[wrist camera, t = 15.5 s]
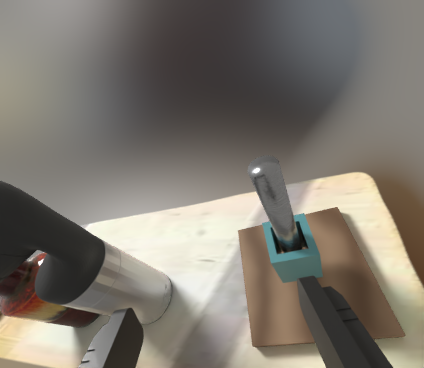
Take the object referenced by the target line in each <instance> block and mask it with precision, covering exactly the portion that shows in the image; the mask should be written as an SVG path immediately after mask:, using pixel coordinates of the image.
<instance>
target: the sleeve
mask: <svg viewBox="0 0 424 368" xmlns="http://www.w3.org/2000/svg"><path fill="white" fill-rule="evenodd" d="M294 219H295V223H296V227H297V231H298V234H299V238H300V242H301V245H302V248H303V247H305V248H306V249H303V250H298V251H293V252H288V253H282V252H283V250H282V248H281V246H280V243H279V241H278V239H277V237H276V234H275V232H274V230H273V228H272V225H271V223H270V221H269V222H265V223H262V225H263V229H264V234H265V238H266V243H267V248H268V252H269V257H270V261H271V264H272V266H273V268H274V269H275V271H276V272H277V274H278V276H279V277H280V279H281V281H282V282H283V283H287V282H293V281H297V278H302V277H307V276H315V277H316V278H320V277H323V274H322V266H321V258H320V253H319V250H318V248H317V245H316V243H315V240H314V238H313V235H312V232H311V230H310V227H309V225H308V222H307V220H306V217H305V215H304V213H303V214H299V215H294Z"/></svg>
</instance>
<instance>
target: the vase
mask: <svg viewBox="0 0 424 368" xmlns="http://www.w3.org/2000/svg"><path fill="white" fill-rule="evenodd" d="M46 254H47V253H41V254H38V255H36V256H34V257H33V258H31V259H30V260H29V261H27V260H26V261H24V262H23V263H22V264H21V265H20V266H19V267H18V268H17V269H16V270H15V271H13V272H12V273H11V274H10V275H9V276H8V277H7V278H6V279H4V280H3V281H2V282H1V283H0V296H1V297H2V299H1V303H0V309H1V312H2V314H4V315H5V316H9V317H14V318H20V319H27V320H33V321H40V322H46V323H53V324H59V325H66V326H72V327H85V326H87V325H89V324H90V323H92V322H93V321H94V320H95V319H96V318H97V317H98V316H99V315H100V314H98V313H94V312H89V311H85V310H80V309H75V308H71V307H66V306H62V305H57V304H53V303H49V302H45V301H43V300H41V299H40V298H38V296H37V295H36V292H35V280H36V276H37V273H38V270H39V268H40V265H41V263H42V262H43V260H44V258H45V256H46Z"/></svg>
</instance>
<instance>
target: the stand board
mask: <svg viewBox="0 0 424 368" xmlns="http://www.w3.org/2000/svg"><path fill="white" fill-rule="evenodd" d="M305 217H306V220H307V222H308V225H309V227H310V230H311V232H312V235H313V238H314V240H315V243H316V245H317V248H318V250H319V253H320V258H321V266H322V274H323V277H320V278H316V279H317V280H318V282H319V284H320V285H321V287H328V286H331V287H332V288H334V289H335V290H336V291H337V292H339V293H340V294H341V295H343V297H344V298H345V300H346V301H347V303H348V304H349V305H350V307H351V309H352V310H353V311H354V313H355V314H356V315H357V317H358V319H359V321H361V323H362V324H363V325H364V327H365V328H366V330H367V331H368V333H369V334H370V335H371V337H372V338H373V339H380V338H394V337H404V336H406V335H405V334H404V332H403V330H402V328H401V326H400V324H399V322H398V320H397V318H396V317H395V315H394V313H393V311H392V309H391V307H390V305H389V303H388V302H387V300H386V298H385V296H384V294H383V292H382V290H381V288H380V286H379V285H378V283H377V281H376V279H375V277H374V275H373V273H372V271H371V270H370V268H369V266H368V264H367V262H366V260H365V258H364V256H363V254H362V253H361V251H360V249H359V247H358V245H357V243H356V241H355V239H354V238H353V236H352V234H351V232H350V230H349V228H348V226H347V224H346V222H345V221H344V219H343V217H342V215H341V213H340V211H339V209H338V207H335V208H331V209H327V210H322V211H318V212H314V213H310V214H306V215H305ZM238 233H239V241H240V249H241V257H242V265H243V273H244V281H245V289H246V297H247V305H248V313H249V321H250V329H251V337H252V345H253V346H254V347H262V346H277V345H292V344H306V343H315V341H314V339H313V336H312V334H311V332H310V330H309V327H308V325H307V323H306V320H305V318H304V316H303V313H302V310H301V307H300V303H299V295H298V286H297V281H293V282H287V283H283V282H282V281H281V279H280V277H279V276H278V274H277V272H276V271H275V269H274V268H273V266H272V264H271V261H270V257H269V252H268V248H267V243H266V238H265V234H264V229H263V225H259V226H255V227H251V228H247V229H243V230H238ZM302 249H306V248H305V247H303V248H302ZM282 253H284V252H282Z"/></svg>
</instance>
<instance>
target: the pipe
mask: <svg viewBox="0 0 424 368" xmlns="http://www.w3.org/2000/svg"><path fill="white" fill-rule="evenodd" d="M248 174H249V176H250V178H251V180H252V183H253V185H254V187H255V189H256V192H257V194H258V196H259V198H260V201H261V203H262V205H263V207H264V210H265V212H266V214H267V216H268V219H269V221H270V223H271V225H272V228H273V230H274V232H275V234H276V237H277V239H278V241H279V243H280V246H281V248H282V250H283V252H284V253H288V252H293V251H298V250H303V249H302V245H301V242H300V238H299V234H298V231H297V227H296V223H295V219H294V216H293V212H292V208H291V205H290V201H289V197H288V194H287V190H286V186H285V183H284V179H283V175H282V172H281V168H280V164H279V161H278V160H277V159H276V158H275V157H273V156H261V157H258V158H256V159H255V160H253V161H252V162H251V163H250V165H249V167H248Z"/></svg>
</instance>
